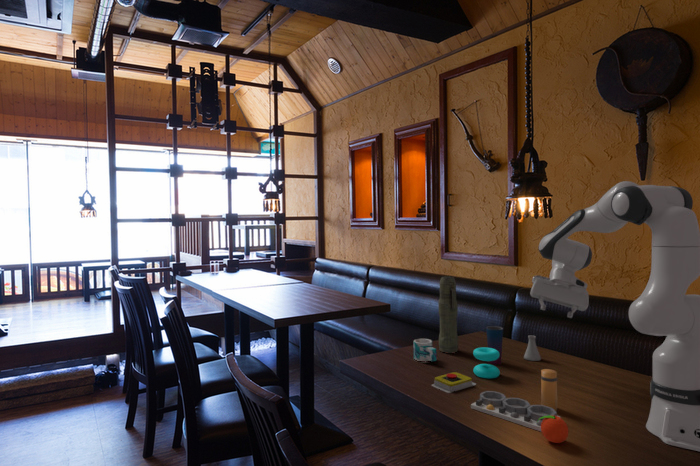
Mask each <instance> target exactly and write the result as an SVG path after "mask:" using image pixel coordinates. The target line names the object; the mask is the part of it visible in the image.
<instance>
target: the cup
mask: <svg viewBox="0 0 700 466" xmlns="http://www.w3.org/2000/svg"><path fill="white" fill-rule="evenodd" d="M485 331H486V340H487V341H486V342H487V347H488V348H493V349H496V350H497V351H498V352H499V353H500V356H499V358H498V359H497V360H494V361H488V364H490V365H494V366H496V365H501V364H502V356H503V355H502V354H503V353H502V351H503V334H504V327H501V326H498V325H497V326H496V325H490V326H486V330H485Z"/></svg>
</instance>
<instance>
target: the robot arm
mask: <svg viewBox="0 0 700 466" xmlns="http://www.w3.org/2000/svg"><path fill="white" fill-rule="evenodd" d="M693 205H694V201H693V197H692V195H691V193H690V192H689V191H688V190H686V189H685V188H682V187H679V186H673V185H670V186H669V185H668V186H666V185H655V184H644V185H643V184H642V185H639V184H638V183H636V182H633V181H631V180H630V181H629V180H625V181H620V182H618V183H616V184H615V185H613V186H612V187H611V188H610V189H608V190H607V192H605V193H604V194H603V195H602V196H601V197H600V199H599V200H598V201H597V202H596V203H595V204H593V205H591V206H589V207H588V206H587V207H586V208H583V209H577V210H575V212H573V213H571V215H570V216H568V217H567V218H566V219H565V220H564V221H562V222H561V223H560V224H559V225H558V226H557V227H555V228H554V229H553V230H552V231H550V232H548V233H547V234H545V235H544V236H543V237H542V238H541V240H540V241H539V244H538V252H539V253H540V255H541V257H542V258H543V259H546V260H549V261H551V267H552V268H551V270H550V271H549V272H550V273H549V277H547V276H543V275H539V274H537V275H534V276H533V277H532V279H531V283H532V286H531V289H530V292H529V294H530V297H531V298H535V299H538V303H539V305H540V310H542V311H546V309H547V304H545V302H548V303H549V302H550V303H552V304H556V305H560V306H563V307H567V308H571V311H568V312H567V313H566V314H567V315H566V317H567V318H569V319H572V318H573V316H574V313H575V312H576V311H577V310H578V311H580V312H585V311H586V310H587V309H588V307H589V302H590V301H589V299H590V296H589V292H588V290H587V289H588V286H589V285H588V283H587V282H585V281H583V280H581V279H579V278H578V277H576V275H575V273H576V272H577V271H578V272H579V271H581V270H583V269H586V268H587V267H589V265H590V264H591V262H592V257H593V251H592V249H591V247H590V246H589V245H588V244H586V243H582V242H580V241H577V240H573V239H570V238H569V237H570V236H572V234H573V235H574V233H578V232H592V233H593V232H595V233H601V234H610V233H611V234H612V233H615V232H617V231H618V230H620V229H622V228H623V227H624V226H626V225H627V224H628V223H632V224H634V225H636V226H641V225H643V224H646V225H648V228H650V230H651V262H650V263H651V265H650V274H649V279H648V282H647V284H646V286H645V288H644V290H643V291H642V293H641V295H639V296H638V297H637V298H636V299H635V300H633V302H631V304H630V306H629V307H628V320H629V322H630V324H631V326H632V327H633V328H634V329H635V330H636V331H637V332H638V333H641V334H643V335H649V336H656V337H663V336H665V340H664V341H663V343H661V344H660V345H659V346H658V347H657V348H656V349H655V350H654V351H653V352H652V378H651V379H650V384H649V385H650V386H649V389H650V390H649V393H650V399H651V403H650V404H651V405H650V410H649V415H648V419H647V422H646V424H645V428H646V429H647V431H648V432H650V433H651V434H652V435H654V436H656V437H657V438H659V439H660V440H661V441H662V442H663V443H664V444H667V445H669V446H673V447H678V448H681V449H687V450H691V451H697V452H699V453H700V294H695V293H693V294H687V291H688V289H689V287H690V285H692V283H693V282H694V281H696V280H697V279H699V277H700V226H699V221H698V218H697V214H696V213H695V212H694V211H693ZM544 301H545V302H544Z"/></svg>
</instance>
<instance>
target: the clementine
mask: <svg viewBox="0 0 700 466" xmlns="http://www.w3.org/2000/svg"><path fill="white" fill-rule="evenodd" d="M558 416H559V415H557V416H554V415H551V416H550V415H548V416H543V417H541V418H540V419H542V418H544V419H543V421H542V423H541V431H542V432H541V431H540V432H541V434H542V436H544V438H545V439H546V440H547V441H549V442H550V443H552V444H553V443H554V444H560V443H563V442H565V441H566V440H567V438H568V437H569V426H568V425H567V423H566V421H565V420H564V419H563V418H560V417H561V416H560V417H558ZM540 419H539V420H540ZM537 422H538V421H537Z"/></svg>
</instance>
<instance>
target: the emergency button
mask: <svg viewBox="0 0 700 466" xmlns="http://www.w3.org/2000/svg"><path fill="white" fill-rule="evenodd" d="M476 385H477V383H476V382H473V378H472V377H470V376H467V375H466V374H462V373H459V372H456V371H454V372H449V373H446V374H443V375H439V376H436V377H434V383H433V384H431V387H433V388H435V389H437V390H439V389H440V391H442V392H445V393H447V394H450V393H455V392H457V391H460V390H463V389H464V390H465V389H467V388H471V387H473V386H476ZM454 391H455V392H454Z"/></svg>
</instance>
